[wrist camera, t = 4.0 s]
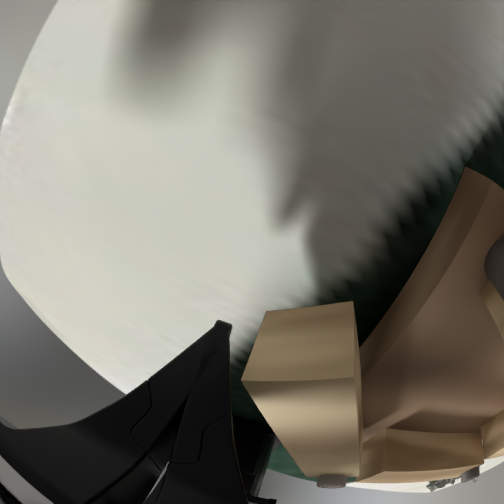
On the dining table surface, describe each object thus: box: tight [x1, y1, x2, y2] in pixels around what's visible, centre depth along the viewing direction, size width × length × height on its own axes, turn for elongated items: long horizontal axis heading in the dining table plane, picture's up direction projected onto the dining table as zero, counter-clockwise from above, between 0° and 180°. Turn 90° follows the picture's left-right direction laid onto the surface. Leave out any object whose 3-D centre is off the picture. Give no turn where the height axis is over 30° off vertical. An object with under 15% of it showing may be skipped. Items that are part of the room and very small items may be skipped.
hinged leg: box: [241, 301, 363, 488], centre depth 9 cm, size 11×3×4 cm, turn 19°
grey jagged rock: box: [426, 466, 480, 492], centre depth 17 cm, size 11×8×4 cm
